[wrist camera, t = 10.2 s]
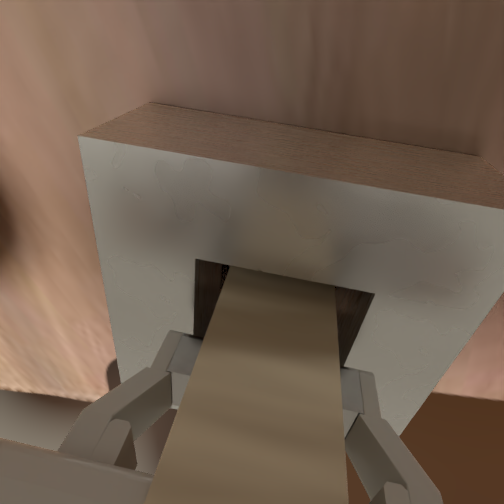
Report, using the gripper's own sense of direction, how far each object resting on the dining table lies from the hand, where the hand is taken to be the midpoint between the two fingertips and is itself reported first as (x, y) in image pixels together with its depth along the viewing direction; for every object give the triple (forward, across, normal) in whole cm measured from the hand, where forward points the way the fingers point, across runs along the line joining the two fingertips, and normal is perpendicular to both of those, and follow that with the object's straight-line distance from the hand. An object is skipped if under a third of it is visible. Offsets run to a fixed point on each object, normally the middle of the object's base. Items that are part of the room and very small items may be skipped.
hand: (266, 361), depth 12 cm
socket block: (+6, 0, 0) cm, 6 cm away
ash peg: (+5, 0, 0) cm, 5 cm away
